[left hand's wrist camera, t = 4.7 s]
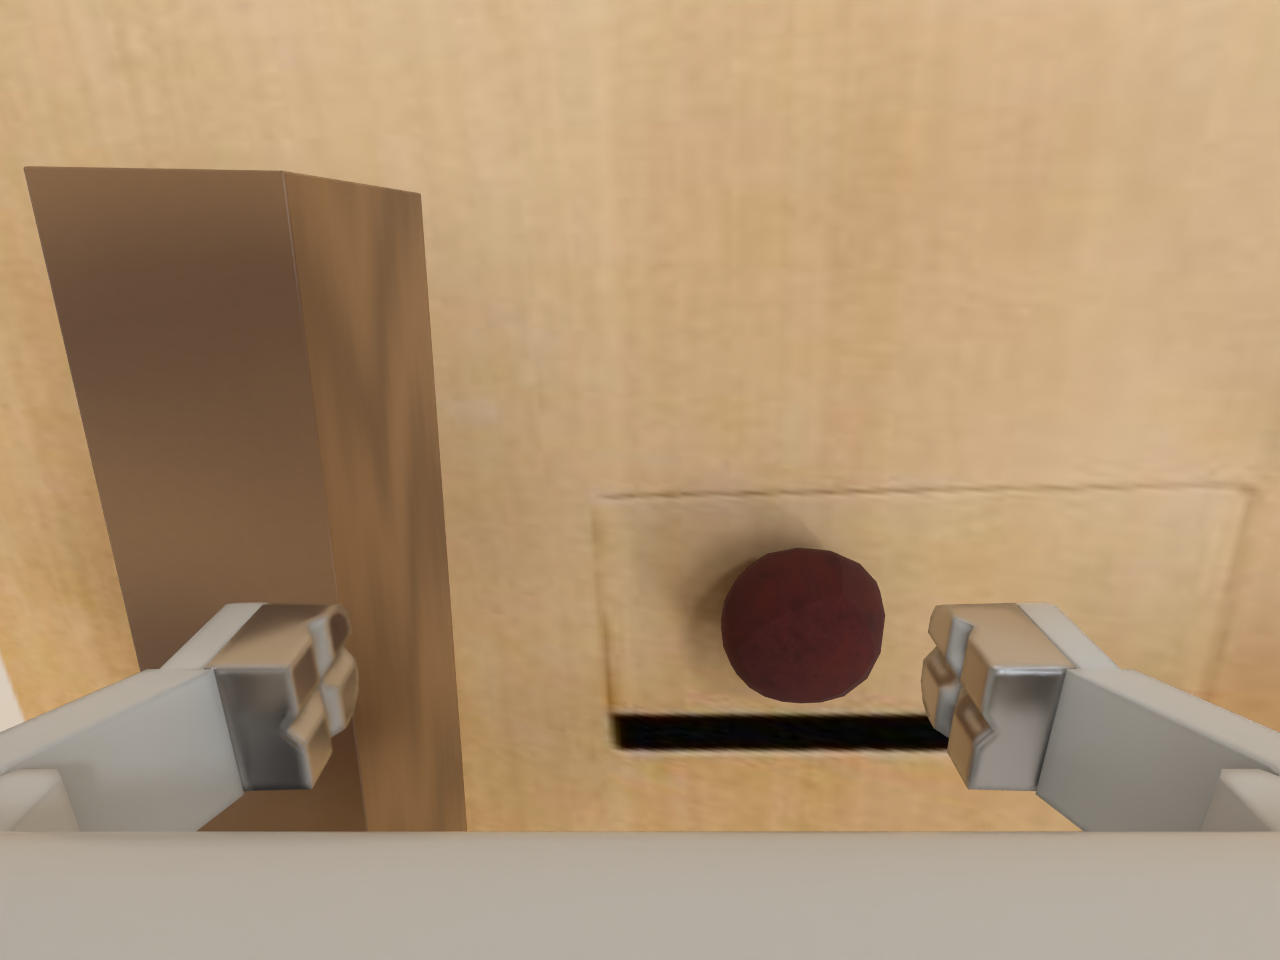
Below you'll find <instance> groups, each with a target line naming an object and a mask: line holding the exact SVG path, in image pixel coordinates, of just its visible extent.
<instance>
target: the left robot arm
mask: <svg viewBox="0 0 1280 960" xmlns="http://www.w3.org/2000/svg"><path fill="white" fill-rule="evenodd" d="M351 633H352V630H351V625H350V620H349V615H348V611H347V610H346V609H345V608H344V607H343V606H342V605H341V604H305V603H267V602H252V603H232V604H226V605H225V606H224V607H223V608H222V609H221V610H220V611H219V612H218V613H217V614H216V615H214V616H213V617H212V618H211V619H210V620H209V621H208V622H207V623H206V624H205V625H204V626H203V627H202V628H201V629H200V630H199V631H198V632H197V633H196V634H195V635H194V636H193V637H192V638H191V639H190V640H189V641H188V642H187V643H186V644H185V645H184V646H183V647H182V648H180V649H179V650H178V651H177V652H176V653H175V654H174V655H173V656H172V657H171V658H170V659H169V660H168V661H167V662H166V663H165V664H164V665H163V666H162V667H161V668H160V669H146V670H144V671H142V672H139V673H137V674H135V675H132V676H130V677H128V678H125V679H123V680H121V681H118V682H116V683H114V684H112V685H109V686H107V687H105V688H102V689H100V690H98V691H95V692H93V693H91V694H88V695H86V696H84V697H81V698H79V699H77V700H74V701H72V702H70V703H67V704H65V705H63V706H60V707H58V708H56V709H53V710H51V711H49V712H47V713H44V714H42V715H40V716H37V717H35V718H33V719H30V720H28V721H26V722H23V723H21V724H19V725H16V726H14V727H12V728H9V729H7V730H5V731H3V732H0V960H1280V733H1279V732H1277V731H1275V730H1272V729H1270V728H1268V727H1266V726H1263V725H1261V724H1259V723H1256V722H1254V721H1252V720H1249V719H1247V718H1245V717H1242V716H1240V715H1238V714H1235V713H1233V712H1231V711H1229V710H1226V709H1224V708H1222V707H1219V706H1217V705H1215V704H1212V703H1210V702H1208V701H1205V700H1203V699H1201V698H1198V697H1196V696H1194V695H1191V694H1189V693H1187V692H1185V691H1182V690H1180V689H1178V688H1175V687H1173V686H1171V685H1168V684H1166V683H1164V682H1161V681H1159V680H1157V679H1154V678H1152V677H1150V676H1148V675H1145V674H1143V673H1141V672H1138V671H1136V670H1134V669H1120V668H1119V667H1118V666H1117V665H1116V664H1115V663H1114V662H1113V661H1112V660H1111V659H1110V658H1109V657H1108V656H1107V655H1106V654H1105V653H1104V652H1103V651H1102V650H1101V649H1100V648H1099V647H1098V646H1096V645H1095V644H1094V643H1093V642H1092V641H1091V640H1090V639H1089V638H1088V637H1087V636H1086V635H1085V634H1084V633H1083V632H1082V631H1081V630H1080V629H1079V628H1078V627H1077V626H1076V625H1075V624H1074V623H1073V622H1072V621H1071V620H1070V619H1069V618H1068V617H1067V616H1066V615H1065V614H1064V613H1063V612H1062V611H1061V610H1060V609H1058V608H1057V607H1056V606H1055V605H1053V604H1050V603H1047V602H1033V603H998V604H957V605H938V606H935V609H934V611H933V613H932V615H931V618H930V624H929V630H928V633H929V635H930V636H931V638H932V639H933V641H934V642H935V644H936V645H937V646H936V647H935V648H934V650H933V651H932V652H931V653H930V654H929V655H928V656H927V657H926V658H925V659H924V660H923V668H922V675H921V688H922V699H923V703H924V707H925V710H926V713H927V716H928V718H929V720H930V722H931V723H932V725H933V727H934V729H936V730H938V731H939V732H941V733H942V734H944V735H945V736H947V737H948V738H949V744H948V749H947V753H948V754H949V756H950V758H951V760H952V761H953V763H954V765H955V767H956V769H957V770H958V772H959V774H960V776H961V777H962V779H963V781H964V783H965V785H966V786H967V788H968V789H977V790H1014V791H1036V795H1038V796H1039V797H1040V798H1041V799H1043V800H1044V801H1045V802H1047V803H1048V804H1049V805H1050V806H1052V807H1053V808H1054V809H1056V810H1057V811H1058V812H1060V813H1061V814H1062V815H1063V816H1065V817H1066V818H1067V819H1069V820H1070V821H1071V822H1072V823H1074V824H1075V825H1076V826H1078V827H1079V828H1080V829H1082V830H1083V831H1084V832H196V831H197V830H199V829H200V828H201V827H203V826H204V825H205V824H206V823H208V822H209V821H210V820H212V819H213V818H214V817H216V816H217V815H218V814H219V813H221V812H222V811H223V810H225V809H226V808H227V807H228V806H230V805H231V804H232V803H234V802H235V801H236V800H238V799H239V798H240V797H241V796H243V795H244V791H265V790H301V789H312V788H313V786H314V785H315V783H316V781H317V779H318V777H319V776H320V774H321V772H322V770H323V769H324V767H325V765H326V763H327V761H328V760H329V758H330V756H331V754H332V753H333V750H332V744H331V738H332V737H333V736H335V735H336V734H338V733H339V732H341V731H342V730H344V729H346V727H347V725H348V723H349V721H350V719H351V718H352V716H353V714H354V710H355V706H356V702H357V697H358V693H359V673H358V667H357V660H356V659H355V658H354V657H353V656H352V655H351V654H350V653H349V652H348V651H347V650H346V649H345V648H344V646H343V645H344V644H345V642H346V641H347V639H348V638H349V636H350V635H351Z"/></svg>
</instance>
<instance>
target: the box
mask: <svg viewBox="0 0 1280 960" xmlns="http://www.w3.org/2000/svg"><path fill="white" fill-rule="evenodd" d="M24 172H25V176H26V181H27V185H28V189H29V194H30V198H31V202H32V207H33V211H34V215H35V220H36V224H37V228H38V232H39V237H40V241H41V245H42V250H43V254H44V258H45V263H46V267H47V271H48V276H49V280H50V284H51V288H52V293H53V297H54V301H55V306H56V310H57V314H58V319H59V323H60V327H61V332H62V336H63V340H64V344H65V349H66V353H67V357H68V362H69V366H70V370H71V375H72V379H73V383H74V388H75V392H76V396H77V400H78V405H79V409H80V413H81V418H82V422H83V426H84V431H85V435H86V439H87V444H88V448H89V452H90V456H91V461H92V465H93V469H94V474H95V478H96V482H97V487H98V491H99V495H100V499H101V504H102V508H103V512H104V517H105V521H106V525H107V530H108V534H109V538H110V543H111V547H112V551H113V555H114V560H115V564H116V568H117V573H118V577H119V581H120V586H121V590H122V594H123V599H124V603H125V607H126V611H127V616H128V620H129V624H130V629H131V633H132V637H133V642H134V646H135V650H136V655H137V659H138V663H139V667H140V672H142V671H144V670H146V669H160V668H161V667H162V666H163V665H164V664H165V663H166V662H167V661H168V660H169V659H170V658H171V657H172V656H173V655H174V654H175V653H176V652H177V651H178V650H179V649H180V648H182V647H183V646H184V645H185V644H186V643H187V642H188V641H189V640H190V639H191V638H192V637H193V636H194V635H195V634H196V633H197V632H198V631H199V630H200V629H201V628H202V627H203V626H204V625H205V624H206V623H207V622H208V621H209V620H210V619H211V618H212V617H213V616H214V615H216V614H217V613H218V612H219V611H220V610H221V609H222V608H223V607H224V606H225V605H226V604H232V603H252V602H267V603H305V604H341V605H342V606H343V607H344V608H345V609H346V610H347V611H348V615H349V620H350V625H351V630H352V633H351V635H350V636H349V638H348V639H347V641H346V642H345V644H344V645H343V646H344V648H345V649H346V650H347V651H348V652H349V653H350V654H351V655H352V656H353V657H354V658H355V659H356V660H357V667H358V673H359V693H358V697H357V702H356V706H355V710H354V714H353V716H352V718H351V719H350V721H349V723H348V725H347V727H346V729H344V730H342V731H341V732H339V733H338V734H336V735H335V736H333V737H332V738H331V744H332V750H333V753H332V754H331V756H330V758H329V760H328V761H327V763H326V765H325V767H324V769H323V770H322V772H321V774H320V776H319V777H318V779H317V781H316V783H315V785H314V786H313V788H312V789H301V790H265V791H244V795H243V796H241V797H240V798H239V799H238V800H236V801H235V802H234V803H232V804H231V805H230V806H228V807H227V808H226V809H225V810H223V811H222V812H221V813H219V814H218V815H217V816H216V817H214V818H213V819H212V820H210V821H209V822H208V823H206V824H205V825H204V826H203V827H201V828H200V829H199V830H197V831H196V832H467V822H466V809H465V795H464V781H463V768H462V754H461V740H460V726H459V713H458V699H457V685H456V672H455V658H454V644H453V631H452V617H451V603H450V589H449V576H448V562H447V548H446V535H445V521H444V507H443V493H442V480H441V466H440V452H439V439H438V425H437V411H436V398H435V384H434V370H433V356H432V343H431V329H430V315H429V302H428V288H427V274H426V260H425V247H424V233H423V219H422V206H421V195H420V193H415V192H409V191H402V190H396V189H390V188H384V187H378V186H372V185H366V184H360V183H353V182H347V181H341V180H335V179H329V178H323V177H317V176H311V175H304V174H298V173H292V172H286V171H260V170H204V169H148V168H91V167H35V166H26V167H24Z"/></svg>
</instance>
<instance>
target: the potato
mask: <svg viewBox="0 0 1280 960" xmlns="http://www.w3.org/2000/svg"><path fill="white" fill-rule="evenodd" d="M884 620H885V613H884V608H883V603H882V599H881V594H880V590H879V588H878V585H877V583H876V581H875V580H874V579H873V578H872V577H871V576H870V574H869V573H868V572H867V571H866V570H865V569H864V568H863V567H862V566H861V565H860V564H859V563H857V562H855V561H853V560H850V559H848V558H845V557H843V556H841V555H839V554H837V553H834V552H832V551H827V550H817V549H806V548H794V549H789V550H784V551H779V552H774V553H769V554H767V555H765V556H764V557H762V558H760V559H759V560H757V561H756V562H754V563H753V564H751V565H750V566H748V567H747V569H746V570H745V571H744V572H743V573H742V574H741V575H740V576H739V577H738V578H737V579H736V581H735V582H734V584H733V586H732V588H731V589H730V591H729V593H728V595H727V597H726V599H725V602H724V607H723V612H722V618H721V630H722V639H723V647H724V649H725V651H726V654H727V656H728V659H729V661H730V663H731V665H732V667H733V669H734V670H735V672H736V674H737V675H738V676H739V677H740V678H741V679H742V680H743V681H744V682H745V683H746V684H747V685H748V686H749V687H750V688H751V689H753V690H755V691H756V692H758V693H760V694H761V695H763V696H765V697H768V698H772V699H775V700H779V701H782V702H792V703H816V702H824V701H828V700H831V699H835V698H839V697H843V696H845V695H846V694H847V693H849V692H850V691H851V690H853V689H854V688H855V687H857V686H858V685H859V684H860V683H862V682H863V681H864V680H866V679H867V678H868V676H869V674H870V672H871V670H872V668H873V666H874V664H875V662H876V660H877V658H878V656H879V654H880V653H881V645H882V636H883V628H884Z"/></svg>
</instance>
